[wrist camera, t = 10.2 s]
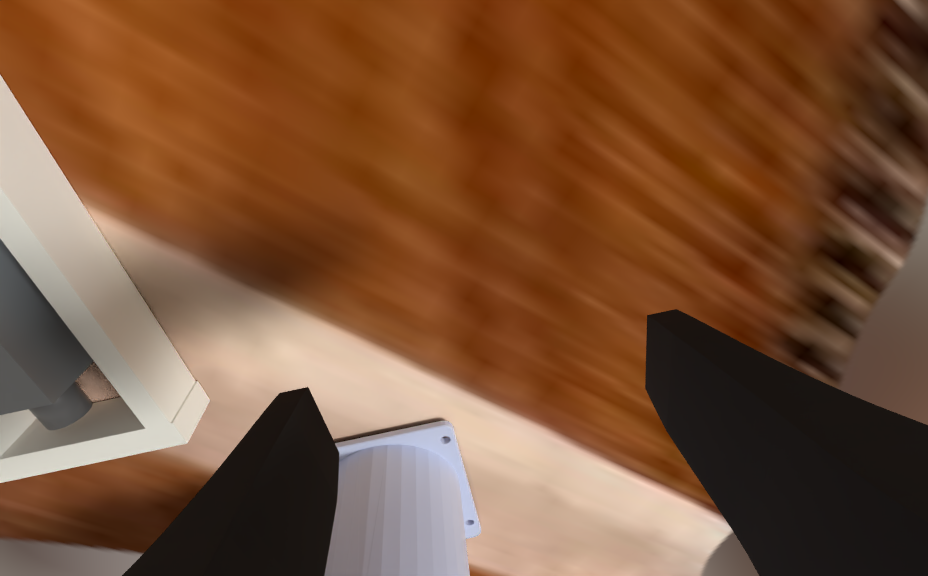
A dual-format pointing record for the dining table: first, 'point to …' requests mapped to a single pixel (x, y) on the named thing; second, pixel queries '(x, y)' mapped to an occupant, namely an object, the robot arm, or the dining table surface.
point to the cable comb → (85, 319)
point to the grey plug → (37, 353)
